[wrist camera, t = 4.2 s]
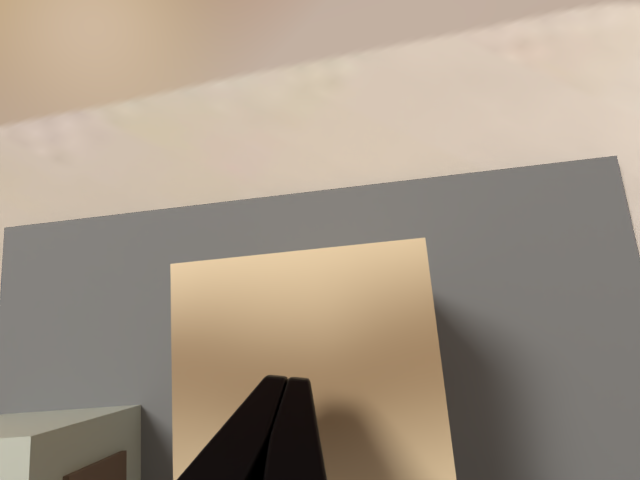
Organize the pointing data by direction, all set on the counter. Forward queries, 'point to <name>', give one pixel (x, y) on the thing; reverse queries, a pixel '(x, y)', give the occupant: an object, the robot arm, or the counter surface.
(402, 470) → the plain maple block
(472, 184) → the slate rubber mat
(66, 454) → the brown paneled pale cube
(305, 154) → the counter surface
